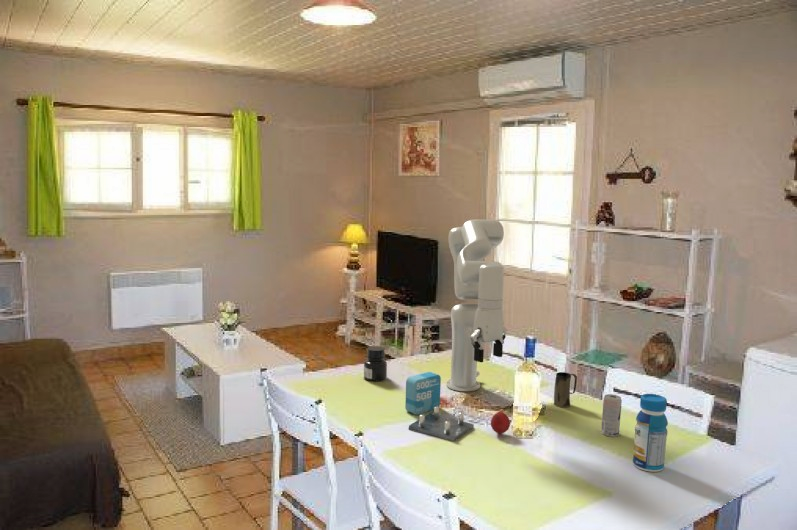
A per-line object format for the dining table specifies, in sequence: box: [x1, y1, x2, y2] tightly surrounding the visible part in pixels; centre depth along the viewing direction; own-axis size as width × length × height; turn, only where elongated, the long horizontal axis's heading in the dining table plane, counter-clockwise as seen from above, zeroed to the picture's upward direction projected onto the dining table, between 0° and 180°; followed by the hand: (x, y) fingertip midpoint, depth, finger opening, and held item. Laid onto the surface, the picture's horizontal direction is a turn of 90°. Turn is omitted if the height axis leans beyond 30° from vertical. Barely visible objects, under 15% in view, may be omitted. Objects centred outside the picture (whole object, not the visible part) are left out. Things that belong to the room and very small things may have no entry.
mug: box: [553, 371, 578, 409], centre depth 228 cm, size 8×6×12 cm
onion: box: [490, 409, 511, 435], centre depth 202 cm, size 6×6×8 cm
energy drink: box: [600, 393, 623, 438], centre depth 204 cm, size 5×5×12 cm
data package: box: [404, 371, 442, 415], centre depth 221 cm, size 12×4×12 cm, turn 130°
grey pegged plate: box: [408, 406, 475, 442], centre depth 205 cm, size 13×16×5 cm
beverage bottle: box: [632, 393, 669, 473], centre depth 181 cm, size 8×8×20 cm
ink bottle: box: [363, 345, 388, 382], centre depth 253 cm, size 10×9×12 cm
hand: (488, 358), depth 203 cm, fingers open, 9 cm apart
